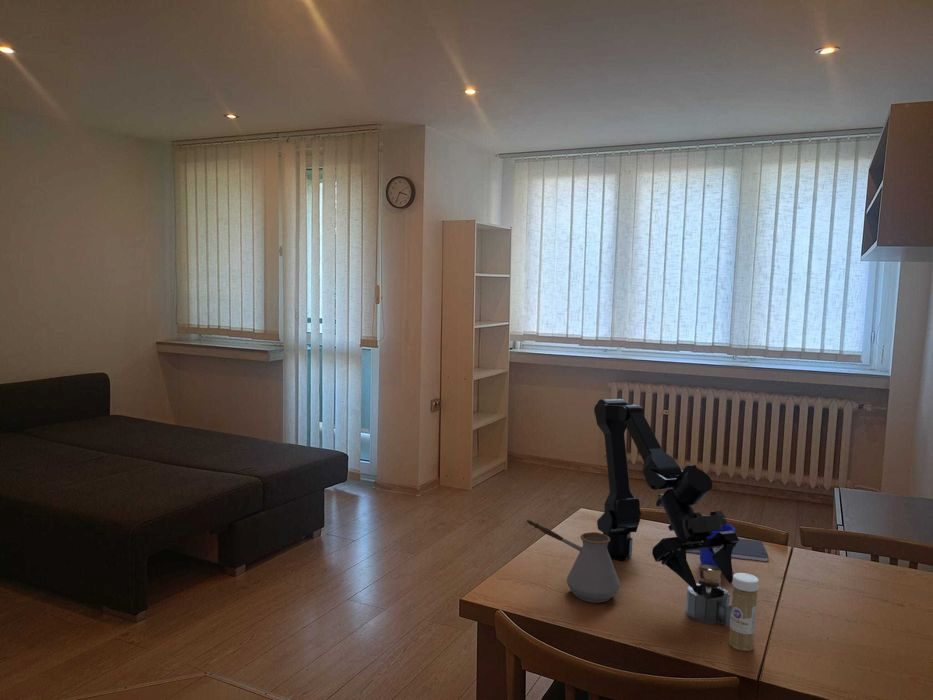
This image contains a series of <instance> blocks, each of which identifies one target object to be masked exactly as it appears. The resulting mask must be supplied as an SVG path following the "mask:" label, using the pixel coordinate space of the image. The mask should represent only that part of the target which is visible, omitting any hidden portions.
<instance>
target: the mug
mask: <svg viewBox="0 0 933 700" xmlns="http://www.w3.org/2000/svg"><path fill="white" fill-rule="evenodd" d="M724 531H733V532H735V533H736V528H735V527H734V526H733V525H730V524H728V523H726V525H724V526H722V530H720V531H719V530H715V531H712V533H713V534H711V535H710V536H708V537H707V539H711V538H712V537H713V536H715V535H716V534H717V533H718V532H724ZM701 545H702V544H701ZM713 555H714V554H713V553H711V552H710V551H709V549H701V550H700V553H699V561H700V565H712V566H716V567H718V566H717V565H716V563H715V562H714V560H713V559H712V557H711V556H713ZM731 555H732V554H731Z"/></svg>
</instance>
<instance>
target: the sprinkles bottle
mask: <svg viewBox="0 0 933 700" xmlns="http://www.w3.org/2000/svg"><path fill="white" fill-rule="evenodd" d="M731 585H732V597H731V600H732V601H731V605H732V609H731V617H730V625H729V639H728V645H729V646H730V647H732V648H733V649H735V650H737V651H742V652H751V651H753V650H754V648H755V644H754V643H755V633H756V621H757V620H756V618H757V605H758V603H757V600H758V591H759V588H760V587H759V586H760V580H759V578H758V577H757V576H755V575H753V574H751V573H747V572H736V573H734V574H733V581H732V583H731Z"/></svg>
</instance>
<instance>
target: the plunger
mask: <svg viewBox="0 0 933 700" xmlns="http://www.w3.org/2000/svg"><path fill="white" fill-rule="evenodd" d="M721 580H722V572H721V569H720V568H718V567H716V566H712V565H702V564H700V565H699V566H698V572H697V583H699V584H700V585H702V586H705V587H706V597H711V588H716V587H721V582H722V581H721Z"/></svg>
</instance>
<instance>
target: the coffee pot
mask: <svg viewBox="0 0 933 700" xmlns="http://www.w3.org/2000/svg"><path fill="white" fill-rule="evenodd" d="M528 524H529V525H530V526H533V527H534V529H538V530H539V531H540V532H542V533H543V534H545V535H547V536H550V537H551V538H554V539H555V540H558V541H560V542H563V543H564V544H566V545H568V546H569V547H571V548H572V549H575V550H576V551H578V555H577V557H576V559H575V561H574V563H573V565H572V567H571V568H570V570H569V573H568V575H567V577H566V584H567V587H568V588H569V589H570V591H571V592H572V593H573V594H574V595H575V597H577V598H578V599H580V600H582V601H584V602H590V603H604V602H609V600H610V599H611V598H613V597H614V596H616V595H617V593H619V590H620V588H621V582H620V580H619V577H618V575H617V571H616V567H614V563H613V560H612V558H610V555H609V552H608V549H607V545H608V543H609V542H610V537H609V536H607V535H604V534H603V533H601V532H597V531H594V532H585V533H582V534H580V540H581V541H582V547H581V546H580V545H578V544H577V543H573V542H572V541H570V540H567V539H566V538H564V537H563V536H561V535H559V534H558V533H556V532H554V531H553V530H551V529H549V528H547V527H544V526H542V525H540V523H538V522H536V523H535V522H534V521H532V520H530V519H527V521H526V523H525V525H524V527H523V528H524V529H526V527H527V525H528Z"/></svg>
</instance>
